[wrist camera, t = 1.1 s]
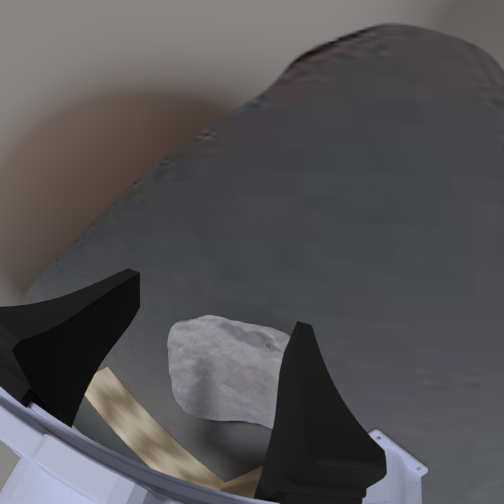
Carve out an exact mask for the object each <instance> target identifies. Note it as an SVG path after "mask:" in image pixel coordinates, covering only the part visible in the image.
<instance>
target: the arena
mask: <svg viewBox="0 0 504 504" xmlns="http://www.w3.org/2000/svg"><path fill="white" fill-rule="evenodd" d="M85 396H86V397H87V399H88V400H89V401H90V402H91V404H92V405H93V406H94V407H95V409H96V410H97V411H98V412H99V414H100V415H101V416H102V417H103V418H104V419H105V421H106V422H107V423H108V424H109V425H110V426H111V428H112V429H113V430H114V431H115V432H116V433H117V434H118V435H119V436H120V437H121V439H122V440H123V441H124V442H125V443H126V444H127V445H128V446H129V447H130V448H131V449H132V450H133V451H134V452H135V453H136V454H137V455H138V456H139V457H140V458H141V459H142V460H143V461H144V462H145V463H146V464H147V465H148V466H149V467H151V468H152V469H154V470H157V471H159V472H162V473H164V474H167V475H170V476H173V477H175V478H178V479H181V480H184V481H187V482H190V483H193V484H197V485H200V486H203V487H207V488H210V489H214V490H218V491H221V492H225V493H230V494H234V495H238V496H243V497H247V498H252V499H253V498H254V495H255V492H256V489H257V485H258V482H259V479H260V476H261V472H262V469H263V465H262V466H260V467H258V468H256V469H254V470H252V471H250V472H248V473H246V474H244V475H241V476H239V477H237V478H235V479H232V480H230V481H228V482H224V481H222V480H221V479H220V478H219V477H217V476H216V475H215V474H214V473H212V472H211V471H210V470H209V469H207V468H206V467H205V466H204V465H202V464H201V463H200V462H199V461H198V460H197V459H195V458H194V457H193V456H192V455H191V454H190V453H189V452H187V451H186V450H185V449H184V448H183V447H182V446H181V445H180V444H179V443H178V442H176V441H175V440H174V439H173V438H172V437H171V436H170V435H169V434H168V433H167V432H166V431H165V430H164V429H163V428H162V427H161V426H160V425H159V424H158V423H157V422H156V421H155V420H154V419H153V418H152V417H151V416H150V415H149V414H148V413H147V412H146V411H145V410H144V409H143V407H142V406H141V405H140V404H139V403H138V402H137V401H136V400H135V399H134V398H133V396H132V395H131V394H130V393H129V392H128V391H127V390H126V388H125V387H124V386H123V385H122V384H121V383H120V381H119V380H118V379H117V378H116V377H115V375H114V374H113V373H112V372H111V370H110V369H109V368H108V367H106V368H105V369H103V370H101V371H99V372H97V373H95V375H94V377H93V379H92V381H91V383H90V385H89V387H88V389H87V391H86V393H85ZM193 504H195V503H193Z"/></svg>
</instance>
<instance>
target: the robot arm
mask: <svg viewBox="0 0 504 504" xmlns="http://www.w3.org/2000/svg"><path fill="white" fill-rule="evenodd" d="M139 308H140V272H137V271H134V270H131V269H126V270H124V271H121V272H119V273H117V274H115V275H112V276H110V277H108V278H106V279H104V280H102V281H99V282H97V283H95V284H93V285H90V286H88V287H86V288H83V289H81V290H78V291H76V292H73V293H71V294H68V295H65V296H62V297H58V298H55V299H51V300H47V301H43V302H38V303H34V304H28V305H20V306H8V307H0V440H1V441H2V442H3V443H4V444H5V445H6V446H8V447H9V448H10V449H11V450H12V451H13V452H14V453H16V454H17V455H18V456H19V457H20V458H21V459H20V461H19V462H18V464H17V465H16V467H15V469H14V470H13V472H12V474H11V475H10V477H9V479H8V481H7V482H6V484H5V486H4V488H3V489H2V491H1V493H0V504H183V503H180V502H178V501H175V500H173V499H170V498H168V497H165V496H163V495H161V494H158V493H156V492H154V491H152V490H149V489H148V488H146V487H145V486H147V487H149V488H152V489H154V490H157V491H159V492H162V493H165V494H167V495H170V496H173V497H176V498H179V499H182V500H185V501H188V502H191V503H195V504H422V491H421V476H423V475H424V474H426V473H427V472H428V468H427V467H426V466H424V465H423V464H422V463H420V462H419V461H418V460H416V459H415V458H414V457H412V456H411V455H410V454H408V453H407V452H406V451H404V450H403V449H402V448H401V447H399V446H398V445H397V444H395V443H394V442H393V441H392V440H390V439H389V438H388V437H387V436H385V435H384V434H383V433H382V432H380V431H379V430H373V431H371V432H369V433H367V432H366V431H365V430H364V429H363V427H362V426H361V425H360V424H359V423H358V421H357V420H356V419H355V417H354V416H353V414H352V413H351V412H350V410H349V409H348V407H347V406H346V404H345V403H344V401H343V400H342V398H341V396H340V394H339V393H338V391H337V389H336V387H335V385H334V383H333V381H332V379H331V377H330V375H329V373H328V370H327V368H326V366H325V363H324V360H323V358H322V355H321V353H320V350H319V347H318V344H317V341H316V338H315V335H314V331H313V328H312V326H311V325H309V324H306V323H302V322H298V321H297V323H296V326H295V328H294V330H293V333H292V335H291V337H290V340H289V342H288V344H287V346H286V349H285V351H284V353H283V358H282V362H281V367H280V372H279V381H278V391H277V401H276V411H275V419H274V425H273V429H272V434H271V438H270V442H269V446H268V450H267V454H266V458H265V462H264V465H263V469H262V472H261V476H260V479H259V482H258V485H257V489H256V492H255V495H254V498H253V499H252V498H247V497H243V496H238V495H234V494H230V493H225V492H221V491H218V490H214V489H210V488H207V487H203V486H200V485H197V484H193V483H190V482H187V481H184V480H181V479H178V478H175V477H173V476H170V475H167V474H164V473H162V472H159V471H157V470H154V469H152V468H149V467H147V466H144V465H142V464H140V463H137V462H135V461H133V460H131V459H128V458H126V457H124V456H122V455H120V454H118V453H116V452H114V451H112V450H110V449H108V448H106V447H104V446H102V445H100V444H98V443H96V442H95V441H93V440H91V439H89V438H87V437H86V436H84V435H82V434H80V433H79V432H77V431H75V430H74V429H72V425H73V422H74V419H75V416H76V414H77V411H78V409H79V406H80V404H81V402H82V399H83V397H84V395H85V393H86V391H87V389H88V387H89V385H90V383H91V381H92V379H93V377H94V375H95V373H96V371H97V370H98V368H99V366H100V364H101V363H102V361H103V360H104V358H105V357H106V355H107V354H108V353H109V351H110V350H111V349H112V347H113V346H114V345H115V343H116V342H117V341H118V339H119V338H120V337H121V336H122V334H123V333H124V332H125V330H126V329H127V328H128V326H129V325H130V324H131V322H132V320H133V318H134V317H135V315H136V313H137V311H138V310H139ZM377 437H380V438H377ZM418 467H419V468H418ZM141 484H142V485H141ZM143 485H144V486H143Z"/></svg>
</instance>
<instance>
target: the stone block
mask: <svg viewBox="0 0 504 504" xmlns="http://www.w3.org/2000/svg"><path fill="white" fill-rule="evenodd" d="M289 340H290V336H289V335H288V334H286V333H284V332H281V331H278V330H276V329H274V328H271V327H265V326H259V325H253V324H247V323H244V322H240V321H233V320H228V319H226V318H224V317H217V316H213V315H207V316H206V315H203V316H201V317H199V318H197V319H192V320H186V321H179V322H177V323H176V324H175V325H174V326H173V327H172V328H171V330H170V333H169V336H168V344H167V346H168V359H169V373H170V375H171V379H172V389H173V394H174V397H175V399H176V401H177V402H178V404H179V405H180V406H181V407H182V408H183V410H184V411H186V412H187V413H189V414H191V415H193V416H195V417H197V418H203V419H209V420H218V421H247V422H250V423H259V424H261V425H263V426H265V427H268V428H271V429H273V425H274V419H275V411H276V401H277V391H278V381H279V372H280V367H281V362H282V358H283V353H284V351H285V349H286V346H287V344H288V342H289Z"/></svg>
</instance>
